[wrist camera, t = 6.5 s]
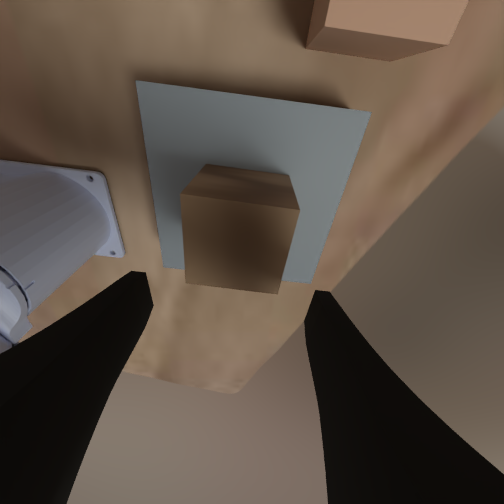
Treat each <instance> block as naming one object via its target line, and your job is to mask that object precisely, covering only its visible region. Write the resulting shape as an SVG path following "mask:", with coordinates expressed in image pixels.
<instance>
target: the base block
mask: <svg viewBox="0 0 504 504" xmlns="http://www.w3.org/2000/svg"><path fill="white" fill-rule="evenodd" d="M135 81H136V87H137V94H138V101H139V107H140V114H141V121H142V127H143V134H144V141H145V147H146V154H147V160H148V167H149V174H150V180H151V187H152V194H153V200H154V207H155V214H156V220H157V227H158V233H159V240H160V247H161V253H162V260H163V267H166V268H175V269H184V270H185V265H184V249H183V234H182V218H181V202H180V193H181V192H182V191H183V190H184V189H185V187H186V186H187V185H188V184H189V183H190V182H191V180H192V179H193V178H194V177H195V176H196V175H197V174H198V172H199V171H200V170H201V169H202V168H203V167H204V165H205V164H212V165H219V166H226V167H233V168H241V169H248V170H255V171H262V172H269V173H276V174H283V175H289V176H290V179H291V183H292V186H293V189H294V192H295V195H296V198H297V201H298V205H299V208H300V213H299V217H298V220H297V224H296V228H295V232H294V235H293V239H292V243H291V246H290V250H289V254H288V257H287V261H286V265H285V269H284V272H283V276H282V281H291V282H300V283H309V284H311V281H312V278H313V276H314V273H315V270H316V267H317V264H318V262H319V259H320V256H321V253H322V250H323V247H324V245H325V242H326V239H327V236H328V233H329V231H330V228H331V225H332V222H333V219H334V217H335V214H336V211H337V208H338V205H339V203H340V200H341V197H342V194H343V191H344V189H345V186H346V183H347V180H348V177H349V174H350V172H351V169H352V166H353V163H354V160H355V158H356V155H357V152H358V149H359V146H360V144H361V141H362V138H363V135H364V132H365V130H366V127H367V124H368V121H369V118H370V116H371V113H372V112H367V111H360V110H353V109H346V108H338V107H331V106H324V105H316V104H309V103H301V102H294V101H287V100H279V99H272V98H264V97H257V96H250V95H242V94H235V93H228V92H220V91H213V90H205V89H198V88H191V87H183V86H176V85H169V84H161V83H153V82H146V81H138V80H135Z"/></svg>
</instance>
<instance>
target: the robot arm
mask: <svg viewBox="0 0 504 504" xmlns="http://www.w3.org/2000/svg"><path fill="white" fill-rule="evenodd" d="M90 176H92V177H93V180H92V179H91V178H90ZM113 251H114V252H115V253H114V252H113ZM93 255H101V256H110V257H119V258H121V257H123V256H124V255H125V249H124V246H123V242H122V238H121V234H120V231H119V227H118V223H117V219H116V216H115V212H114V208H113V204H112V201H111V197H110V193H109V189H108V185H107V182H106V178H105V176H104V175H103V174H102V173H100V172H97V171H89V170H81V169H73V168H65V167H57V166H49V165H41V164H33V163H24V162H16V161H8V160H0V504H67V501H68V498H69V495H70V492H71V489H72V487H73V484H74V481H75V479H76V476H77V473H78V471H79V468H80V466H81V463H82V460H83V458H84V455H85V452H86V450H87V447H88V445H89V442H90V440H91V438H92V435H93V432H94V430H95V428H96V425H97V423H98V420H99V418H100V416H101V413H102V411H103V409H104V407H105V404H106V402H107V400H108V397H109V395H110V393H111V391H112V389H113V387H114V384H115V383H116V380H117V379H118V377H119V375H120V373H121V371H122V369H123V368H124V366H125V364H126V362H127V360H128V358H129V357H130V355H131V353H132V351H133V349H134V347H135V346H136V344H137V342H138V340H139V338H140V336H141V334H142V332H143V331H144V329H145V326H146V324H147V321H148V319H149V316H150V314H151V311H152V308H153V306H154V305H153V301H152V297H151V293H150V288H149V284H148V280H147V276H146V272H136V271H131V272H129V273H127V274H126V275H124V276H123V277H122V278H120V279H119V280H117V281H116V282H114V283H113V284H112V285H110V286H109V287H107V288H106V289H104V290H103V291H102V292H100V293H99V294H97V295H96V296H94V297H93V298H91V299H90V300H88V301H87V302H86V303H84V304H83V305H81V306H80V307H78V308H77V309H75V310H73V311H72V312H70V313H69V314H67V315H66V316H64V317H62V318H61V319H59V320H58V321H56V322H55V323H53V324H51V325H50V326H48V327H47V328H45V329H43V330H42V331H40V332H38V333H36V334H35V335H33V336H31V337H30V338H28V339H26V340H24V341H22V342H21V343H19V342H18V341H19V340H20V339H21V338H22V337H23V336H24V335H25V334H26V333H27V332H28V331H29V330H30V329H31V328H32V327H33V326H32V324H31V323H30V322H29V320H28V319H27V316H28V315H29V314H30V313H31V312H32V311H33V310H35V309H36V308H37V307H38V306H39V305H40V304H41V303H42V302H43V301H44V300H45V299H46V298H47V297H49V296H50V295H51V294H52V293H53V292H54V291H55V290H56V289H57V288H58V287H59V286H60V285H61V284H63V283H64V282H65V281H66V280H67V279H68V278H69V277H70V276H71V275H72V274H73V273H74V272H75V271H77V270H78V269H79V268H80V267H81V266H82V265H83V264H84V263H85V262H86V261H87V260H88V259H89V258H91V257H92V256H93ZM304 324H305V337H306V346H307V351H308V357H309V362H310V367H311V371H312V376H313V381H314V386H315V391H316V396H317V401H318V407H319V414H320V423H321V432H322V440H323V450H324V461H325V470H326V483H327V495H328V504H504V474H503V473H501V472H500V471H499V470H498V469H497V468H496V467H495V466H493V465H492V464H491V463H490V462H489V461H487V460H486V459H485V458H484V457H483V456H482V455H480V454H479V453H478V452H477V451H476V450H475V449H474V448H472V447H471V446H470V445H469V444H468V443H466V441H464V440H463V439H462V438H461V437H460V436H459V435H458V434H457V433H455V432H454V431H453V430H452V429H451V428H450V427H449V426H448V425H446V423H445V422H444V421H443V420H441V419H440V418H439V417H438V416H437V415H436V414H435V413H434V412H433V411H432V410H431V409H430V408H429V407H427V405H425V404H424V403H423V402H422V401H421V400H420V399H419V398H418V397H417V396H416V395H415V394H414V393H413V392H412V391H411V390H410V389H409V387H408V386H407V385H406V384H405V383H404V382H403V381H402V380H401V379H400V378H399V377H398V376H397V375H396V374H395V373H394V372H393V371H392V370H391V369H390V367H389V366H388V365H387V364H386V363H385V362H384V361H383V359H382V358H381V357H380V356H379V355H378V354H377V353H376V351H375V350H374V349H373V348H372V347H371V345H370V344H369V343H368V342H367V341H366V339H365V338H364V337H363V335H362V334H361V333H360V332H359V330H358V329H357V328H356V327H355V325H354V324H353V323H352V321H351V320H350V319H349V317H348V316H347V315H346V313H345V312H344V311H343V309H342V308H341V307H340V305H339V304H338V302H337V301H336V300H335V299H334V297H333V296H332V294H331V293H330V292H328V291H318V290H315V292H314V295H313V298H312V301H311V304H310V306H309V309H308V312H307V315H306V317H305V320H304Z"/></svg>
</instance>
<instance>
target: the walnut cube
mask: <svg viewBox="0 0 504 504" xmlns="http://www.w3.org/2000/svg"><path fill="white" fill-rule="evenodd" d="M180 202H181V218H182V234H183V249H184V265H185V281H186V283H189V284H197V285H205V286H213V287H221V288H230V289H238V290H246V291H254V292H262V293H270V294H278V291H279V287H280V283H281V280H282V276H283V272H284V269H285V265H286V261H287V257H288V254H289V250H290V246H291V243H292V239H293V235H294V232H295V228H296V224H297V220H298V217H299V213H300V208H299V205H298V201H297V198H296V195H295V192H294V189H293V186H292V183H291V179H290V176H289V175H283V174H276V173H269V172H262V171H255V170H248V169H241V168H233V167H226V166H219V165H212V164H205V165H204V167H203V168H202V169H201V170H200V171H199V172H198V174H197V175H196V176H195V177H194V178H193V179H192V180H191V182H190V183H189V184H188V185H187V186H186V187H185V189H184V190H183V191H182V192H181V193H180Z"/></svg>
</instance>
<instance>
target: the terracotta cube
mask: <svg viewBox="0 0 504 504" xmlns="http://www.w3.org/2000/svg"><path fill="white" fill-rule="evenodd" d="M468 1H469V0H314V6H313V11H312V16H311V21H310V27H309V32H308V37H307V43H306V48H305V49H310V50H317V51H324V52H330V53H337V54H344V55H350V56H357V57H364V58H370V59H377V60H384V61H394V60H397V59H401V58H405V57H408V56H412V55H415V54H419V53H422V52H426V51H429V50H433V49H436V48H440V47H443V46H447V45H449V42H450V40H451V38H452V36H453V34H454V32H455V29H456V27H457V25H458V23H459V21H460V18H461V16H462V14H463V12H464V10H465V8H466V5H467V3H468Z"/></svg>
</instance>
